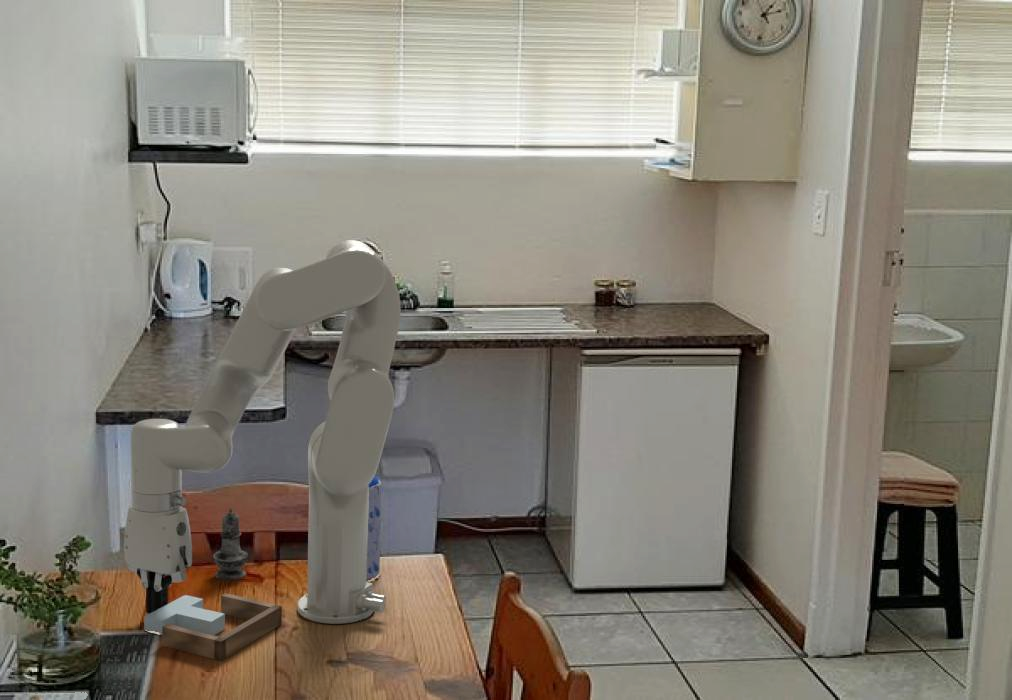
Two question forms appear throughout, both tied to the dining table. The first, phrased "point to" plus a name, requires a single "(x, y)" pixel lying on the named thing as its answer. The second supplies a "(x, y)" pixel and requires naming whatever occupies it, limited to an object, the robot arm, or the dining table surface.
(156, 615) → the t block
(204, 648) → the corral
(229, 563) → the grey stone statue
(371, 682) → the dining table surface
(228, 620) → the dining table surface
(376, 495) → the aerosol can
